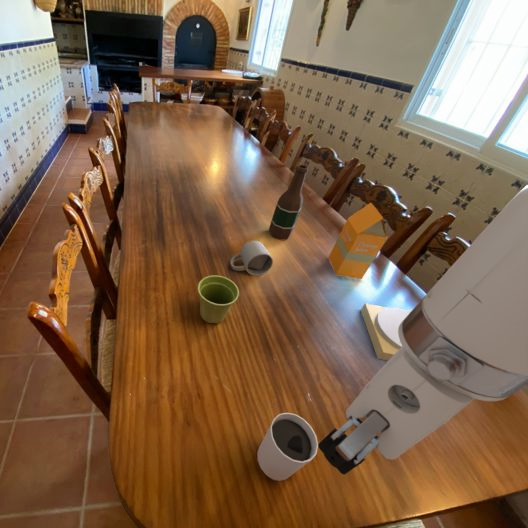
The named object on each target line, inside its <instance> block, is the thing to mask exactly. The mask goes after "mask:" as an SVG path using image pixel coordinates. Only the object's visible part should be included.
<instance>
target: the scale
mask: <svg viewBox="0 0 528 528" xmlns="http://www.w3.org/2000/svg"><path fill="white" fill-rule="evenodd" d="M411 311H412V310H411ZM411 311H410V310H407V309H405V308H400V307H392V306H391V307H386V306H381V305H375V304H370V303H367V302H365V303H363V306H362V307H361V308H360V312H361V315H362V317H363V320H364V323H365V326H366V329H367V331H368V334H369V335H368V336H369V338H370V340H371V343H372V347H373V349H374V352H375V355H376V357H377V359H378V360H382V361H386V362H388V361H389V360H390V359H391V358H392V357H393V355H394V354H395V353H396V352H397V351H398V350H399V349H400V348H401V347H402V344H401V342H400V339H399V334H398V330H399V326H400V324H401V322H402V321H403V320H404V319H405V318H406V317H407V316H408V314H409V313H410V312H411Z"/></svg>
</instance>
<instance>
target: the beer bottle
mask: <svg viewBox="0 0 528 528" xmlns="http://www.w3.org/2000/svg"><path fill="white" fill-rule="evenodd" d="M308 172H309V167H308V166H307V165H305V164H298V165H297V166H296V167H295V172H294V174H293V177H292V179H291V181H290V183H289V186H288V187H287V189H286V190H285V191H284V192H283V193H282V194H281V195H280V196H279V198H278V200H277V203H276V205H275V209H274V212H273V215H272V218H271V220H270V224H269V228H268V233H269V234H270V236H271V237H272V238H275V239H277V240H280V241H281V240H288V239H289V238H290V237H291V236H292V233H293V231H294V229H295V226H296V223H297V221H298V219H299V215H300V213H301V210H302V207H303V204H304V197H303V194H302V191H303V186H304V183H305V180H306V176H307V173H308Z"/></svg>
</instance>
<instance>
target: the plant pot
mask: <svg viewBox="0 0 528 528" xmlns="http://www.w3.org/2000/svg"><path fill="white" fill-rule="evenodd" d="M197 292H198V295H199V298H200V299H199V314H200V317H201V318H202V320H203V321H205V322H206V323H209V324H220V323H222V322H223V321H224V320H225V318H226V316H227V314H228V313H229V311H230V308H231V306H232V305H233V304H234V303H236V301H237V300H238V298H239V296H240V290H239V287H238V286H237V284H236V283H235V282H234V281H233V280H231V279H230V278H228V277H226V276H222V275H215V274H214V275H208V276H205V277H203V278H202V279H200V281H199V282H198V284H197Z"/></svg>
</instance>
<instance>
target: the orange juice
mask: <svg viewBox="0 0 528 528" xmlns="http://www.w3.org/2000/svg"><path fill="white" fill-rule="evenodd" d="M387 240H388V236H387V231H386V226H385V221H384V217H383V215H382V214H381V213H380V212H379V210H378V209H377V208H376V207H375V205H374V204H373V203H372V202H369V203H367V204H366V205H364V206H363V207H362V208H361V209H358V210H357V211H356V212H355V213H353V214H351V215H350V216H349V217H347V219H346V221H345V223H344V225H343V228H342V229H341V231H340V233H339V235H338V237H337V238H336V241H335V243H334V245H333V247H332V249H331V251H330V253H329V255H328V260H329V263H330V265H331V267H332V269H333V272H334V274H335V276H338V277H339V276H340V277H347V278H353V279H360V280H363V277H364V276H365V275H366V274H367V271H368V270H369V268H370V267H371V265H372V264H373V262H374V261H375V259H376V258H377V256H378V255H379V253H380V251H381V249H382V248H383V246H384V245H385V243H386V242H387Z"/></svg>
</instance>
